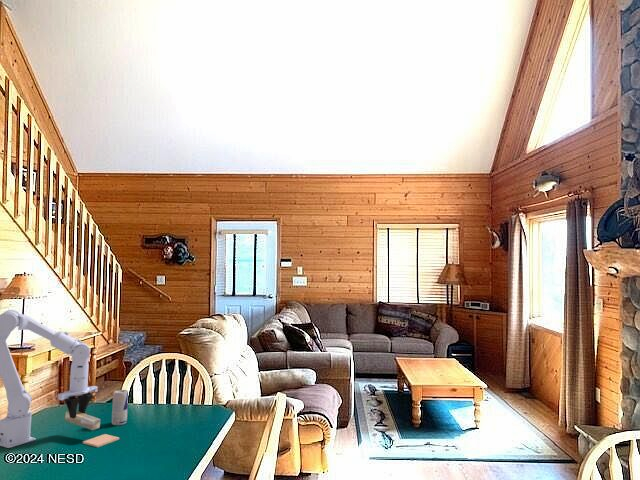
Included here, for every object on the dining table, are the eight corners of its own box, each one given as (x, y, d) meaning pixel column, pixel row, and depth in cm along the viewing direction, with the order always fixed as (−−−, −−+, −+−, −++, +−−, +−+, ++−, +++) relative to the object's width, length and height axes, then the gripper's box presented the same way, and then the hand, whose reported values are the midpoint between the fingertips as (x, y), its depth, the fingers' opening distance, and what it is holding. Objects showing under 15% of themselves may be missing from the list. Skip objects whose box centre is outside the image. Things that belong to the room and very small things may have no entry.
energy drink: (129, 421, 191) (130, 390, 192) (122, 425, 185) (123, 393, 186) (116, 420, 191) (117, 389, 192) (108, 425, 186) (110, 392, 187)
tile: (82, 446, 166) (97, 450, 163) (82, 441, 166) (97, 445, 163) (104, 438, 174) (119, 442, 171) (105, 433, 174) (119, 437, 171)
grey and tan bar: (92, 430, 169) (93, 421, 169) (64, 420, 175) (65, 411, 175) (99, 427, 171) (100, 419, 172) (72, 418, 178) (73, 409, 178)
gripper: (68, 382, 167) (66, 423, 166) (104, 375, 180) (102, 413, 179) (54, 380, 170) (52, 420, 169) (90, 373, 183) (88, 410, 182)
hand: (77, 416), depth 175 cm, fingers closed on grey and tan bar, 3 cm apart
